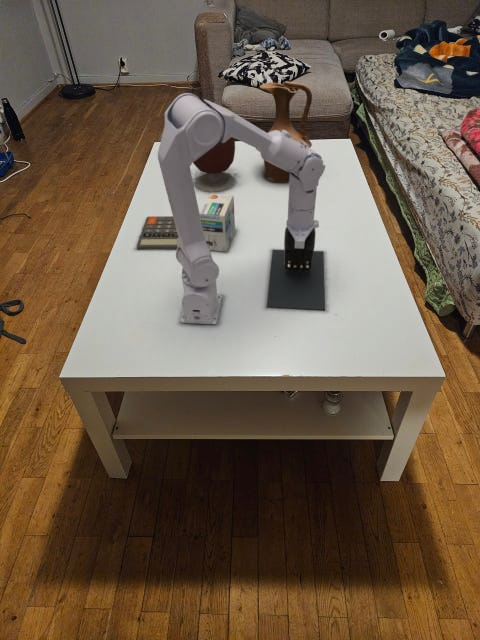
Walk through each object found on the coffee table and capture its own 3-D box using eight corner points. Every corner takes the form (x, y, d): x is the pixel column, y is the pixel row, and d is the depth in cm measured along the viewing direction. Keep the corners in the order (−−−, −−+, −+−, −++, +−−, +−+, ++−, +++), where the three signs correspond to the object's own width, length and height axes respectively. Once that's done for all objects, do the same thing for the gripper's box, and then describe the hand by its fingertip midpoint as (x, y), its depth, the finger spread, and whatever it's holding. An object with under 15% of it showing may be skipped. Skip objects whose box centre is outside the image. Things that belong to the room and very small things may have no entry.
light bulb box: (227, 252, 118) (225, 216, 111) (202, 250, 119) (198, 214, 112) (235, 230, 126) (234, 194, 118) (212, 228, 127) (209, 192, 119)
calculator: (187, 215, 130) (180, 246, 119) (187, 218, 131) (180, 249, 120) (147, 216, 131) (136, 246, 120) (147, 218, 131) (136, 249, 120)
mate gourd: (238, 173, 150) (236, 110, 136) (233, 193, 140) (230, 128, 126) (192, 172, 152) (185, 109, 138) (184, 192, 142) (176, 127, 128)
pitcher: (310, 164, 153) (317, 73, 134) (308, 189, 141) (315, 92, 121) (258, 162, 155) (257, 72, 136) (251, 186, 143) (250, 91, 124)
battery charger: (283, 272, 108) (284, 230, 100) (283, 263, 110) (285, 221, 103) (312, 273, 107) (316, 231, 99) (312, 264, 110) (316, 222, 102)
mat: (325, 310, 101) (325, 309, 101) (266, 307, 103) (266, 306, 102) (323, 252, 117) (323, 251, 117) (272, 250, 118) (272, 249, 118)
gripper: (321, 223, 91) (315, 276, 101) (320, 188, 102) (315, 239, 111) (285, 222, 92) (283, 275, 102) (288, 187, 102) (286, 238, 112)
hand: (298, 256), depth 106 cm, fingers closed on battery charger, 4 cm apart
